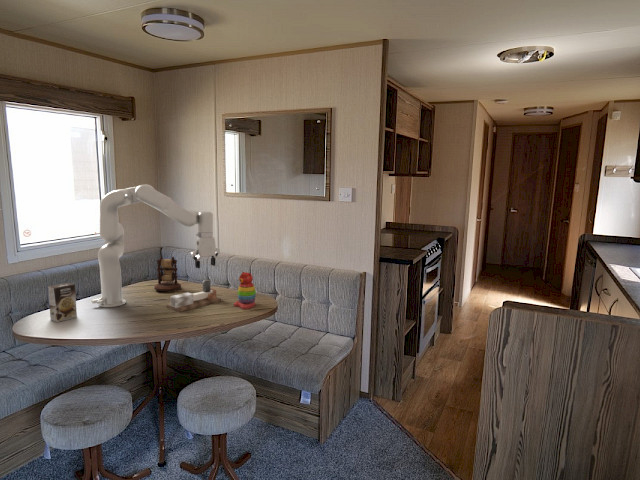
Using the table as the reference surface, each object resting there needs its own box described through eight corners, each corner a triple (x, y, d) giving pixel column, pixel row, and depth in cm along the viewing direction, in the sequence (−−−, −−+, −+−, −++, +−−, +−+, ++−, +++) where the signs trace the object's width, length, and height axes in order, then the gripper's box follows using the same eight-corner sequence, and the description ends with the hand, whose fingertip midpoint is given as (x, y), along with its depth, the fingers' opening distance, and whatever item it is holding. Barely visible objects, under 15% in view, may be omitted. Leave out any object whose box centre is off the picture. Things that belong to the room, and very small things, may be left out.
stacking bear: (232, 305, 223) (231, 272, 221) (247, 301, 231) (247, 269, 228) (244, 310, 216) (244, 276, 213) (260, 305, 223) (260, 272, 220)
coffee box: (57, 322, 193) (54, 288, 190) (50, 319, 196) (47, 286, 194) (77, 317, 201) (75, 284, 198) (70, 314, 204) (67, 282, 201)
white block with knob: (191, 301, 220) (190, 285, 219) (186, 300, 223) (186, 283, 221) (213, 296, 231) (213, 280, 230) (209, 294, 234) (209, 278, 232)
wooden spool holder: (184, 286, 257) (183, 254, 254) (177, 293, 243) (176, 259, 240) (159, 286, 256) (157, 254, 253) (150, 293, 242) (149, 258, 239)
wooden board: (179, 311, 211) (178, 299, 210) (166, 306, 219) (165, 295, 218) (221, 300, 230) (220, 289, 229) (207, 296, 238) (207, 285, 237)
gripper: (195, 237, 216) (195, 270, 218) (223, 234, 229) (223, 265, 232) (187, 235, 221) (187, 267, 223) (214, 232, 234) (214, 263, 236)
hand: (205, 266), depth 227 cm, fingers open, 9 cm apart
